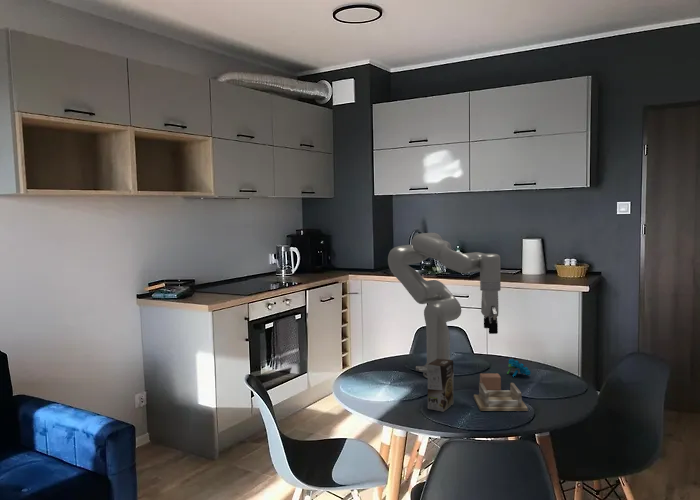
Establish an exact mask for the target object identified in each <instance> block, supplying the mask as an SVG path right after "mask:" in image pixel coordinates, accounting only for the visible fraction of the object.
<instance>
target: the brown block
mask: <svg viewBox="0 0 700 500" xmlns="http://www.w3.org/2000/svg"><path fill="white" fill-rule="evenodd" d="M479 383H483V385H484V386H485V388H486V390H502V377H501V375H500V374H499V373H491V372H490V373H486V372H485V373H479Z"/></svg>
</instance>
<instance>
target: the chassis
mask: <svg viewBox="0 0 700 500" xmlns="http://www.w3.org/2000/svg"><path fill="white" fill-rule="evenodd" d="M509 386H510V387H509V389H510V390H509V389H507V390H505V389H504V390H502V389H501V390H486V388H485V386H484V385H483V383H480V382H479V383H478V391H479V392H478V394H473V399H474V401H475V404H476V406H477V407H478V409H479V412H481V411H528V412H529V409H528V406H527V405H526V404H525V402H524V401H523V398H522V392H521V390H520V389H519V388H518V387H517V386H516V384H515V383H514V382H510V383H509Z"/></svg>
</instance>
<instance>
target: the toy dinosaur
mask: <svg viewBox="0 0 700 500" xmlns="http://www.w3.org/2000/svg"><path fill="white" fill-rule="evenodd" d="M524 365H525V364H523V363H522V362H520V361H519V360H517V359H516V360H515V359H514V358H509V359H508V365H507V367H508V371H507V372H506V374H507V375H509V374H510V372H511V371H512V372H514V373H513V374H512V376H513V377H512V376H511V377H512V378H515V377H516V376H517V374H518V373H520V374H521V375H523V374H524V375H525V374H526V375H525V376H530V375H531V373H532V372H531V370H530V369H529V368H528V366H525V367H524ZM514 376H515V377H514Z"/></svg>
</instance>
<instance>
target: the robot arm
mask: <svg viewBox="0 0 700 500" xmlns="http://www.w3.org/2000/svg"><path fill="white" fill-rule="evenodd" d="M429 258H431V259H434V260H437V261H438V262H439V263H441V264H442V265H443V266H444V267H445V268H447V269H449V270H452V271H454V272H457V273H460V274H468V273H470V274H471V273H475V272H479V283H480V286H479V289H480V291H481V303H480V304H481V307H480V308H481V309H480V312H481V314H482V315H483V328H484V329H488V334H491V335H496V334H498V333H499V332H498V331H499V328H498V327H499V326H498V325H499V324H498V322H499V321H498V317H499V292H500V291H501V288H502V287H501V284H502V283H501V256H500V254H497V253H484V252H478V251H475V252H474V251H473V252H466V253H461V252H459V251H456V250H453V249H452V244H451V243H450V242H449V241H447V240H445V239H443V238H442V236H441V235H440V234H438V233H437V232H423V233H418V234H416V235H414V237H412V239H411V244H406V245H405V244H404V245H398V246H395V247H393V248H391V249H390V251H389V253H388V256H387V265H388V268H389V270H390V272H391V273H392V275H393V276H394V277H395V278H396V280H398V282H400V283H401V284H402V286H403V287H404V288H405V290H406V291H407V292H408V294H409V295H410V296H411V297H412V298H413V300H415V302H416V303H418V304H419V305H426V306H425V307H424V310H423V317H424V322H425V328H426V329H425V330H426V331H425V332H426V333H425V334H426V362H425V364H424V365H415V371H416V372H421V373H422V376H423V377H424V378H426V379H428V364H429V363H431V362H432V361H434V360H436V359H447V360H451V349H450V348H451V344H450V343H451V338H450V337H451V335H450V329H449V327H448V324H447V323H448V322H452V321H454V320H457V319H458V318H460V316H461V314H462V306H461V304H460V302H459V301H458V300H457V298H456V296H455V295H454V294H453V293H452V292H451V291H450V290H449V289H448V287H447V286H446V285H445V284H444V283H443V282H441V281H440V280H438V279H429V280H426V279H425V278H424V277H422V275H421V274H420V273H419V271H417V270H416V269H415V268H413V267H411V266H410V265H415V264H419V263H422V262H423V261H425V260H427V259H429ZM454 377H455V374H454V372H453V378H454Z"/></svg>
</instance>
